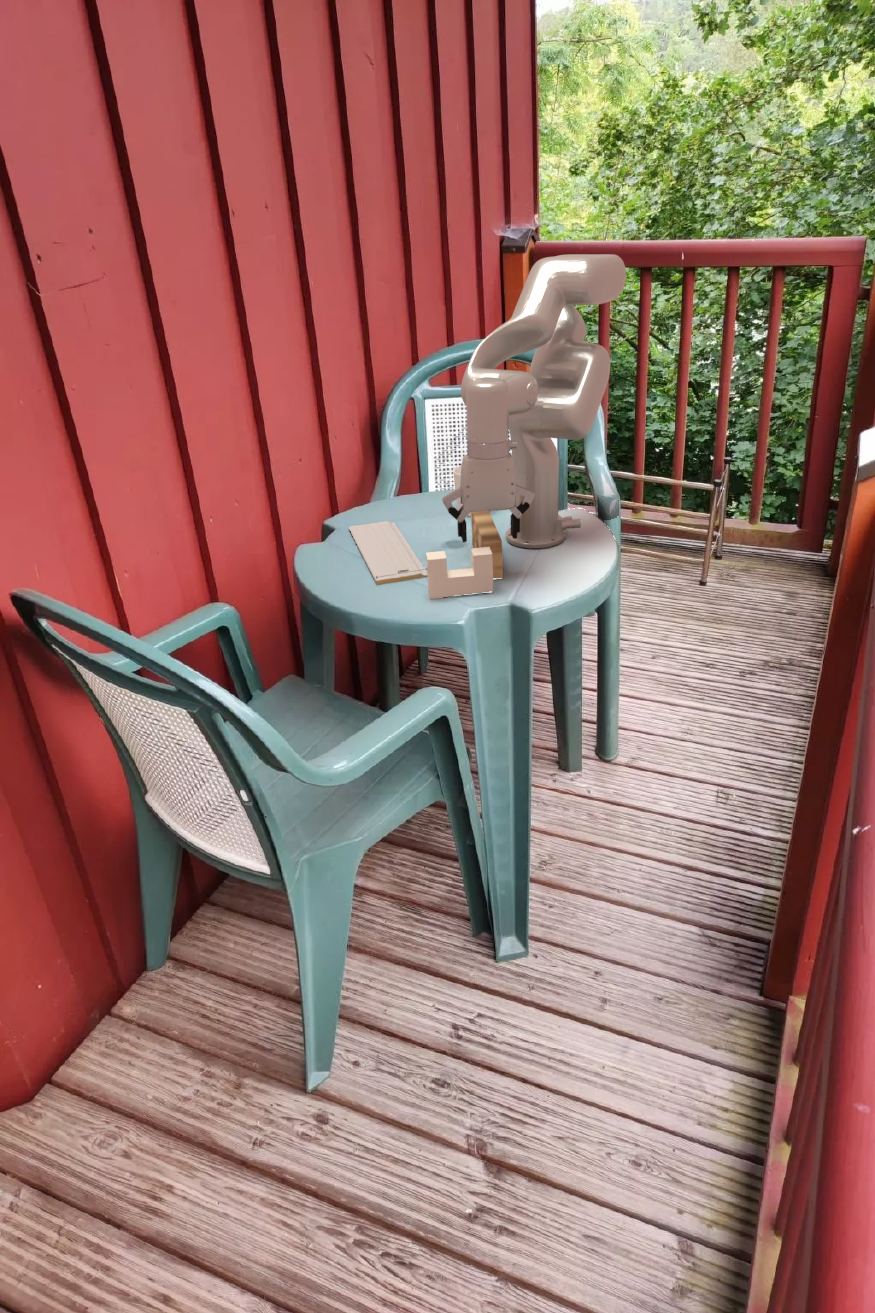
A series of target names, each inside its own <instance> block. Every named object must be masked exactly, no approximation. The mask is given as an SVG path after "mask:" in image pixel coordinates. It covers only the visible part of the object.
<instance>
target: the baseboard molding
mask: <svg viewBox="0 0 875 1313" xmlns="http://www.w3.org/2000/svg"><path fill="white" fill-rule="evenodd" d="M348 527H349V529H348V531H349V530H350V531H351V533H350V535H351V534H352V535H351V537H352V536H353V537H352V538H354V539H353V541H354V540H355V541H354V543H355V542H356V543H355V545H356V544H357V545H356V546H357V548H358V550H359V552H360V554H361V557H362V558H363V561H364V562H365V564H366V566H367V568H368V570H369V572H370V574H371V575H372V577H373V579H374V581H375V583H376V585H377V586H379V585H385V584H391V583H398V582H403V581H409V580H410V581H411V580H416V579H421V578H422V579H423V578H428V576H427V567H426V568H425V567H424V565H423V564H422V562H421V561H420V559H419V558H418V557H417V554H415V552H414V550H413V549H412V547H411V546H410V544H409V543H408V542H407V540H406V538H405V536H404V535H403V533H402V532H401V531H400V528H398V526H397V525H396V523H395V522H394V521H393V522H390V521H388V520H384V521H378V522H370V523H367V524H365V523H363V524H358V525H357V524H356V525H351V526H348ZM350 531H349V532H350Z"/></svg>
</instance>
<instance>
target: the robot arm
mask: <svg viewBox="0 0 875 1313" xmlns="http://www.w3.org/2000/svg"><path fill="white" fill-rule="evenodd" d="M626 270H627V269H626V265H625V263H624V260H623V259H622V258H621V257H620V256H619V255H617V254H609V253H608V254H607V253H606V254H600V253H599V254H597V253H595V254H594V253H592V254H590V253H589V254H587V253H584V254H582V253H581V254H580V253H579V254H578V253H577V254H576V253H575V254H573V253H572V254H571V253H570V254H560V255H556V256H548V257H542V258H540V259H539V260H537V261H536V262H535V263H534V264H533V265H532V266H531V269H530V271H529V273H528V276H527V278H526V281H525V282H524V285H523V287H522V290H521V293H520V296H519V298H518V300H517V303H516V305H515V307H514V310H513V313H512V316H511V317H510V318H509V320H508V321H506V322H504V323H502V324H501V325H499V326H498V327H497V328H495V329H494V330H493V331H492V332H490V334H488V335H487V336H486V337H485V338H483V339H482V340H481V341H480V343H478V345H477V346H475V349H474V351H473V352H472V354H471V356H470V359H469V362H468V363H467V365H466V368H465V371H464V374H463V376H462V381H461V386H460V396H461V399H462V402H463V403H464V404H465V406H466V446H467V447H466V450H467V454H464V455H463V456H462V460H461V461H462V462H461V466H462V467H461V484H460V488H459V489H457V490H455V489H454V490H453V491H452V492H450V493H449V494H447V495H445V496H443V497H442V499H441V500H442V504H443V505H444V507H445V508H446V510H447V511H448V514H449V515H450V516H452V517H453V518H454V519H455V520H456V521H457V536H458V537H459V538H461V541H462V543H467V539H468V538H467V537H468V536H467V535H468V534H467V521H466V518H467V517H468V516H467V515H468V514H469V513H470V512H482V511H489V512H494V511H507V510H509V511H510V512H511V514H510V527H509V528H508V529H507V531H506V532H505V538H506V540H507V542H508V543H509V544H511V545H514V546H516V547H519V548H524V549H544V548H550V547H554V546H557V545H559V544H561V543H563V541H564V540H566V536H567V535H566V531H567V529H580V528H582V522H581V521H582V519H580V518H574V519H573V516H564V517H562V516H560V514H559V502H560V501H559V498H560V497H559V494H560V493H559V492H560V489H559V483H560V482H559V480H560V477H559V476H560V472H559V471H560V456H559V453H558V450H557V447H556V445H555V443H554V441H553V440H552V439H559V440H560V439H561V440H569V441H570V440H571V441H578V440H582V439H584V438H586V437H587V436H588V435H589V433H590V432H591V430H592V428H593V425H594V423H595V420H596V417H597V415H598V412H599V409H600V406H601V404H602V401H603V397H604V395H605V392H606V389H607V385H608V382H609V378H610V374H611V373H610V372H611V359H610V354H609V352H608V350H607V349H606V348H605V347H604V346H603V345H601V344H597V343H591V342H584V341H585V338H586V335H587V325H586V322H585V320H584V319H583V316H582V315H581V313H580V312H579V310H578V309H577V308H576V307H575V306H595V305H602V304H605V303H608V302H609V303H610V302H612V301H615V300H616V299H617V298H618V297H619V296H620V295H621V293H622V292H623V290H624V288H625V284H626V281H627V280H626V279H627V271H626ZM535 349H536V350H535ZM533 350H535V352H534V355H533V357H532V361H531V364H530V367H529V372H528V371H527V372H526V371H523V370H509V369H497V367H498V366H499V365H501V364H502V363H504V362H506V361H507V360H509V359H511V358H513V357H516V356H519V355H522V354H525V353H528V352H531V351H533ZM509 436H510V439H509ZM510 451H511V453H510ZM459 497H460V499H461V504H463V505H462V506H461V507H460V509H459V510H458V508H455V506H454V505H453V503H452V502H454V501H456V499H458V498H459Z"/></svg>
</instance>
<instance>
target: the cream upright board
mask: <svg viewBox="0 0 875 1313" xmlns="http://www.w3.org/2000/svg"><path fill="white" fill-rule="evenodd" d="M470 552H471V553H470V556H471V558H470V559H471V567H469V568H467V567H466V568H459V569H457V568H456V569H448V560H447V559H448V558H447V555H446V551H445V550H440V551H432V552H431V551H429V552H425V556H426V557H425V558H426V560H425V561H426V568H427V569H426V572H427V576H428V577H427V589H428V591H427V592H428V595H429V599H430V600H437V599H444V598H443V597H448V596H454V595H464V594H472V593H482V592H489V591H493V592H494V580H493V559H492V552H491V549H490V547H481V548H473V547H472V548H470ZM448 598H449V597H448Z"/></svg>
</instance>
